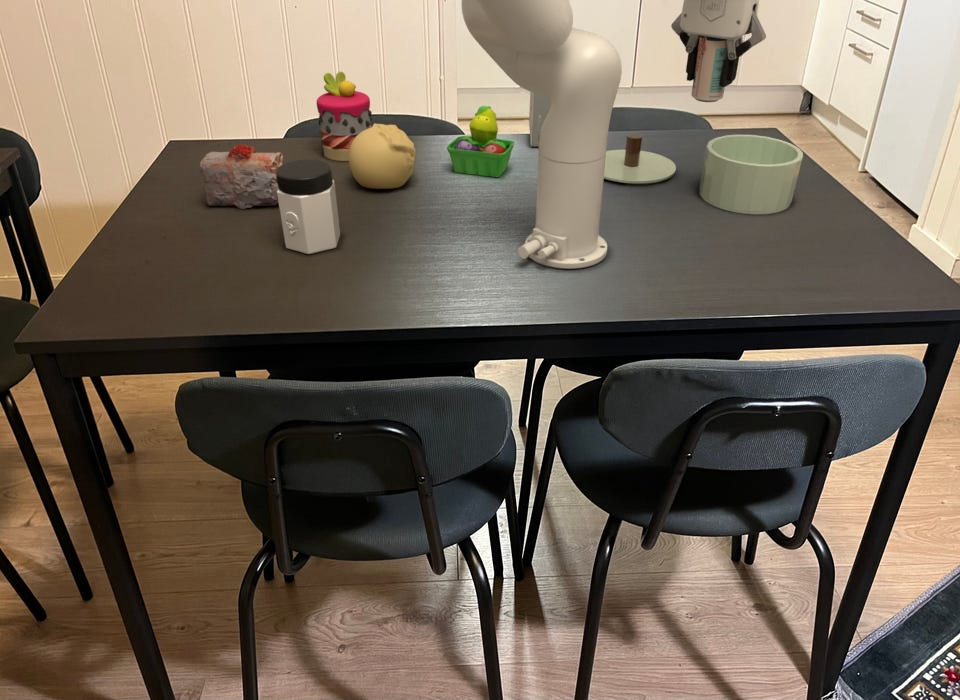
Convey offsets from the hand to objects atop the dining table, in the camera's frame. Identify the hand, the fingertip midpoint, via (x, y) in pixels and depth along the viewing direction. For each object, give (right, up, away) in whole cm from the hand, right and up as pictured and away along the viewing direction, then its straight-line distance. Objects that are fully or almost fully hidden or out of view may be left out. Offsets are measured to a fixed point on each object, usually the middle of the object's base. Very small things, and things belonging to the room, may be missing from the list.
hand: (709, 80), depth 116 cm
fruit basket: (-35, -7, +28) cm, 46 cm away
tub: (+12, -14, +17) cm, 25 cm away
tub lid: (-7, -7, +28) cm, 29 cm away
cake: (-62, -2, +36) cm, 72 cm away
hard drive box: (-21, +4, +45) cm, 50 cm away
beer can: (0, -2, +2) cm, 3 cm away
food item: (-76, -16, +16) cm, 79 cm away
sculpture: (-53, -11, +23) cm, 58 cm away
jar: (-61, -25, +3) cm, 66 cm away
